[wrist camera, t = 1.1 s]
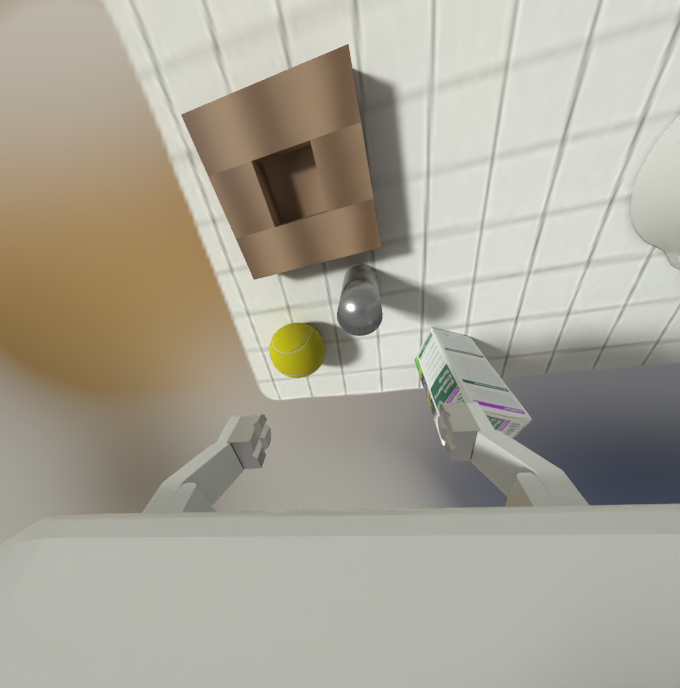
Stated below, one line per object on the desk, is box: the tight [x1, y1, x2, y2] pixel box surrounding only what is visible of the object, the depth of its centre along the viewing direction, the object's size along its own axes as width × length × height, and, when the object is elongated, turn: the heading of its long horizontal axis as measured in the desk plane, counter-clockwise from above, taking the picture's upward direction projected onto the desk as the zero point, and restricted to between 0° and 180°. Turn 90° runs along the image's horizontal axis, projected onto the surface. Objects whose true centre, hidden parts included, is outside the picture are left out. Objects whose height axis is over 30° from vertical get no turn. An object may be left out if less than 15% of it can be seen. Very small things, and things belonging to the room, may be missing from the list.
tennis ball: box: [270, 323, 325, 378], centre depth 32 cm, size 7×7×7 cm
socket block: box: [182, 44, 382, 279], centre depth 24 cm, size 14×14×4 cm
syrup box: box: [415, 328, 531, 446], centre depth 29 cm, size 6×6×14 cm
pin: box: [337, 264, 382, 336], centre depth 26 cm, size 4×4×10 cm
